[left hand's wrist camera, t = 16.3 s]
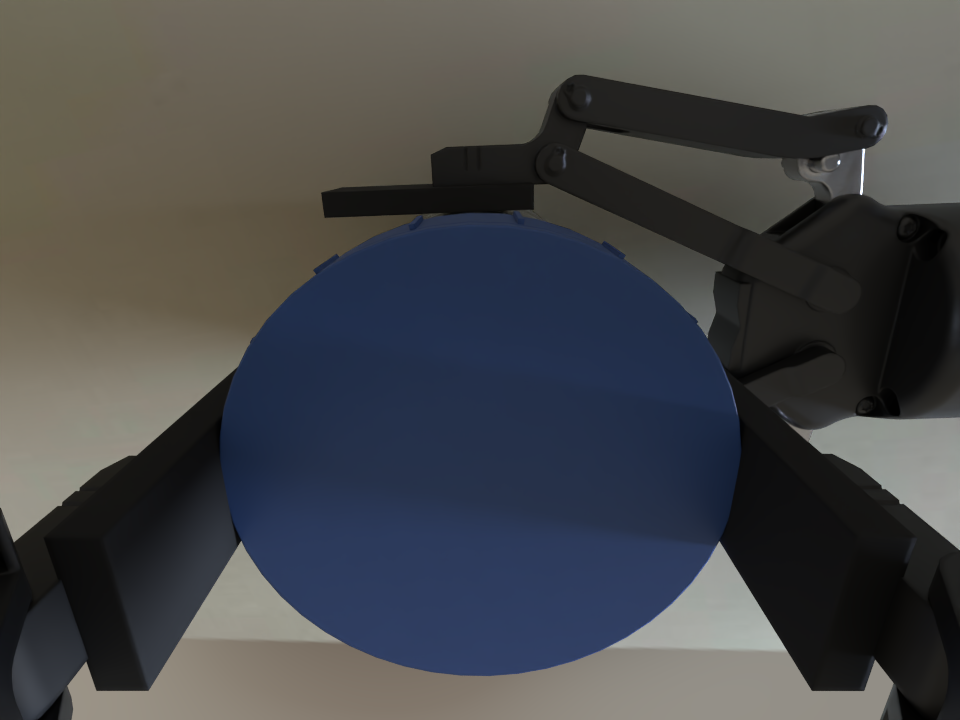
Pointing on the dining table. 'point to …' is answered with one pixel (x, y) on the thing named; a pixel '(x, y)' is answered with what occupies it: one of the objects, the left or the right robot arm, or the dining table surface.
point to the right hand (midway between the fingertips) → (351, 333)
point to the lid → (480, 446)
